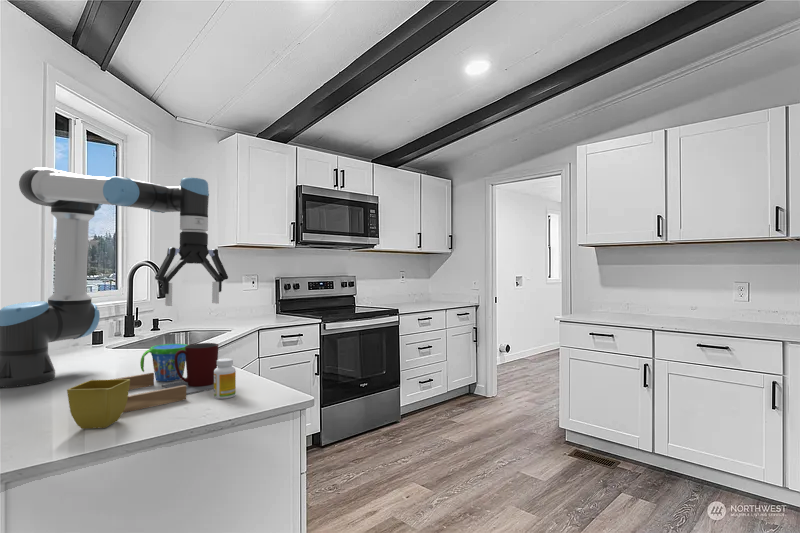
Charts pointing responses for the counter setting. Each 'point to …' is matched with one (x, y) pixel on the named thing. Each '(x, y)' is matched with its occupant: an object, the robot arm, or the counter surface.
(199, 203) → the robot arm
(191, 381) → the mug
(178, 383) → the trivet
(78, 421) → the flower pot
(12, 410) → the counter surface
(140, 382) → the oak caddy
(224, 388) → the supplement bottle
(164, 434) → the counter surface
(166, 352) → the snack cup
